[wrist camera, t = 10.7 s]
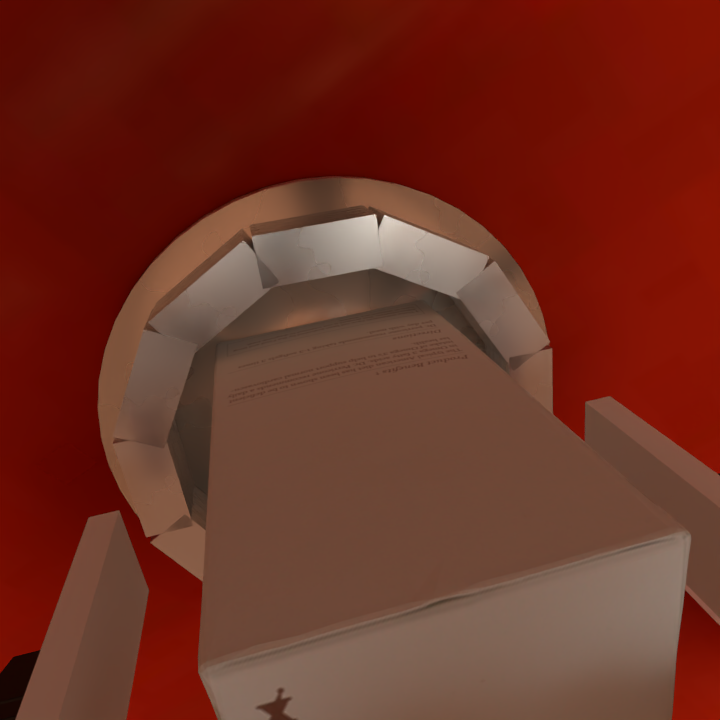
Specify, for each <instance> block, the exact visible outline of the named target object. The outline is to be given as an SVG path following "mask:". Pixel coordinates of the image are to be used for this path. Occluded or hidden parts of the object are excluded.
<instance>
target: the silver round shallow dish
mask: <svg viewBox="0 0 720 720" xmlns="http://www.w3.org/2000/svg"><path fill="white" fill-rule="evenodd" d="M419 300H423V301H425V302H426V303H427V304H428V305H429V306H431V307H432V308H433V309H434V310H435V311H436V312H437V313H439V314H440V315H441V316H442V317H443V318H444V319H445V320H447V321H448V322H449V323H450V324H451V325H453V326H454V327H455V328H456V329H457V330H459V331H460V332H461V333H462V334H463V335H464V336H465V337H467V338H468V339H469V340H470V341H471V342H472V343H473V344H474V345H475V346H477V347H478V348H479V349H480V350H481V351H482V352H483V353H485V354H486V355H487V356H488V357H489V358H490V359H491V360H493V361H494V362H495V363H496V364H497V365H498V366H499V367H500V368H502V369H503V370H504V371H505V372H506V373H507V374H508V375H509V376H511V377H512V378H513V379H514V380H515V381H516V382H517V383H518V384H520V385H521V386H522V387H523V388H524V389H525V390H527V391H528V392H529V393H530V394H531V395H532V396H533V397H534V398H535V399H536V400H538V401H539V402H540V403H541V404H542V405H543V406H544V407H545V408H546V409H548V410H549V411H550V412H551V413H552V414H553V384H552V348H551V347H550V346H549V343H550V341H549V339H548V336H547V331H546V327H545V322H544V318H543V315H542V312H541V309H540V307H539V304H538V301H537V299H536V296H535V294H534V291H533V289H532V288H531V286H530V284H529V282H528V280H527V279H526V277H525V275H524V273H523V271H522V270H521V268H520V267H519V265H518V264H517V263H516V261H515V260H514V259H513V258H512V256H511V255H510V254H509V252H508V251H507V250H506V249H505V247H504V246H503V245H502V244H501V243H500V242H499V241H498V240H497V239H496V238H495V237H494V236H493V235H491V234H490V233H489V232H488V231H487V230H486V229H485V228H484V227H483V226H482V225H480V224H479V223H478V222H476V221H475V220H473V219H472V218H470V217H469V216H468V215H466V214H465V213H463V212H462V211H461V210H459V209H457V208H455V207H453V206H451V205H449V204H447V203H445V202H443V201H442V200H440V199H438V198H436V197H434V196H432V195H429V194H426V193H423V192H420V191H418V190H415V189H412V188H409V187H406V186H403V185H400V184H397V183H393V182H387V181H382V180H376V179H371V178H366V177H349V176H323V177H313V178H303V179H296V180H291V181H287V182H283V183H279V184H275V185H271V186H266V187H263V188H261V189H258V190H256V191H253V192H250V193H248V194H245V195H243V196H240V197H238V198H235V199H233V200H231V201H229V202H227V203H226V204H224V205H222V206H220V207H218V208H217V209H215V210H213V211H211V212H209V213H208V214H206V215H204V216H203V217H201V218H200V219H199V220H197V221H196V222H195V223H193V224H192V225H191V226H189V227H188V228H187V229H186V230H184V231H183V232H182V233H180V234H179V235H178V236H176V238H175V239H174V240H173V241H172V242H171V243H170V244H169V245H168V246H167V247H166V248H165V249H164V250H163V251H162V252H161V253H160V254H159V255H158V256H157V257H156V258H155V259H154V260H153V261H152V262H151V264H150V265H149V266H148V268H147V269H146V271H145V272H144V273H143V275H142V276H141V277H140V279H139V280H138V281H137V283H136V284H135V285H134V287H133V289H132V290H131V292H130V294H129V296H128V298H127V300H126V301H125V303H124V305H123V307H122V309H121V311H120V313H119V314H118V316H117V318H116V320H115V323H114V325H113V328H112V331H111V334H110V337H109V339H108V342H107V345H106V348H105V351H104V356H103V361H102V367H101V372H100V377H99V391H98V415H99V424H100V432H101V439H102V443H103V446H104V450H105V453H106V457H107V460H108V464H109V467H110V469H111V471H112V473H113V475H114V478H115V480H116V482H117V484H118V486H119V489H120V491H121V492H122V494H123V495H124V497H125V498H126V500H127V501H128V503H129V504H130V506H131V508H132V509H133V511H134V512H135V514H136V515H137V516H138V517H139V519H140V522H141V525H142V527H143V530H144V533H145V536H146V537H150V536H151V541H150V543H151V544H153V545H154V546H155V547H157V548H158V549H159V550H161V551H162V552H163V553H165V554H166V555H167V556H169V557H170V558H172V559H173V560H174V561H176V562H177V563H178V564H180V565H181V566H182V567H184V568H185V569H186V570H188V571H189V572H190V573H192V574H193V575H194V576H196V577H197V578H198V579H200V580H201V581H203V570H204V553H205V534H206V516H207V499H208V480H209V462H210V443H211V426H212V409H213V387H214V369H215V351H216V345H217V344H218V343H220V342H226V341H231V340H236V339H240V338H245V337H249V336H254V335H259V334H263V333H268V332H272V331H277V330H282V329H286V328H291V327H296V326H300V325H305V324H310V323H314V322H319V321H324V320H328V319H333V318H337V317H342V316H347V315H351V314H356V313H361V312H366V311H370V310H375V309H380V308H384V307H389V306H395V305H400V304H405V303H410V302H415V301H419Z"/></svg>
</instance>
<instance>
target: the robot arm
mask: <svg viewBox="0 0 720 720" xmlns="http://www.w3.org/2000/svg"><path fill="white" fill-rule="evenodd" d="M585 443H586V444H587V445H589V446H590V447H591V448H592V449H593V450H594V451H595V452H596V453H598V454H599V455H600V456H601V457H602V458H603V459H604V460H605V461H607V462H608V463H609V464H610V465H611V466H612V467H613V468H615V469H616V470H617V471H618V472H619V473H620V474H621V475H623V476H624V477H625V478H626V479H627V480H628V481H629V482H631V483H632V484H633V485H634V486H635V487H636V488H638V489H639V490H640V491H641V492H642V493H643V494H645V495H646V496H647V497H648V498H649V499H651V500H652V501H653V502H654V503H655V504H657V505H658V506H659V507H660V508H662V509H663V510H664V511H665V512H666V513H668V514H669V515H670V516H671V517H673V518H674V519H675V520H676V521H678V522H679V523H680V524H681V525H682V526H683V527H685V528H686V529H687V530H688V531H689V533H690V534H691V545H690V551H689V558H688V567H687V576H686V585H687V586H688V587H689V588H690V589H691V590H692V591H693V592H694V593H695V594H696V595H697V596H698V597H699V598H700V599H701V600H702V601H703V602H704V603H705V604H706V605H707V606H708V607H709V608H710V609H711V610H712V611H713V612H714V613H715V614H716V615H717V616H718V617H719V618H720V473H719V474H717V473H715V472H714V471H713V470H711V469H710V468H709V467H707V466H706V465H704V464H703V463H702V462H700V461H699V460H697V459H696V458H695V457H693V456H692V455H691V454H689V453H688V452H686V451H685V450H684V449H682V448H681V447H679V446H678V445H677V444H675V443H674V442H673V441H671V440H670V439H668V438H667V437H666V436H664V435H663V434H661V433H660V432H659V431H657V430H656V429H654V428H653V427H652V426H650V425H649V424H648V423H646V422H645V421H643V420H642V419H641V418H639V417H638V416H636V415H635V414H634V413H632V412H631V411H630V410H628V409H627V408H625V407H624V406H623V405H621V404H620V403H618V402H617V401H616V400H614V399H613V398H612V397H610V396H609V397H604V398H600V399H596V400H591V401H587V402H585ZM148 593H149V589H148V586H147V584H146V581H145V578H144V576H143V573H142V570H141V568H140V565H139V562H138V560H137V557H136V554H135V552H134V549H133V546H132V543H131V541H130V538H129V535H128V533H127V530H126V527H125V525H124V522H123V519H122V517H121V514H120V511H119V510H118V511H114V512H110V513H105V514H101V515H97V516H92V517H89V518H88V521H87V523H86V526H85V529H84V532H83V534H82V537H81V540H80V543H79V545H78V548H77V551H76V554H75V556H74V559H73V562H72V565H71V567H70V570H69V573H68V576H67V579H66V581H65V584H64V587H63V590H62V592H61V595H60V598H59V601H58V603H57V606H56V609H55V612H54V614H53V617H52V620H51V623H50V625H49V628H48V631H47V634H46V636H45V639H44V642H43V645H42V648H41V650H39V651H35V652H31V653H27V654H23V655H19V656H16V657H13V658H12V660H11V661H10V662H9V663H8V665H7V666H6V667H5V668H4V670H3V671H2V672H1V673H0V720H126V718H127V712H128V706H129V701H130V695H131V689H132V684H133V678H134V672H135V667H136V661H137V655H138V650H139V644H140V638H141V633H142V627H143V621H144V616H145V610H146V604H147V599H148Z"/></svg>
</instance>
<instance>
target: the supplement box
mask: <svg viewBox="0 0 720 720" xmlns="http://www.w3.org/2000/svg"><path fill="white" fill-rule="evenodd" d="M690 545H691V534H690V533H689V531H688V530H687V529H686V528H685V527H683V526H682V525H681V524H680V523H679V522H678V521H676V520H675V519H674V518H673V517H671V516H670V515H669V514H668V513H666V512H665V511H664V510H663V509H662V508H660V507H659V506H658V505H657V504H655V503H654V502H653V501H652V500H651V499H649V498H648V497H647V496H646V495H645V494H643V493H642V492H641V491H640V490H639V489H638V488H636V487H635V486H634V485H633V484H632V483H631V482H629V481H628V480H627V479H626V478H625V477H624V476H623V475H621V474H620V473H619V472H618V471H617V470H616V469H615V468H613V467H612V466H611V465H610V464H609V463H608V462H607V461H605V460H604V459H603V458H602V457H601V456H600V455H599V454H598V453H596V452H595V451H594V450H593V449H592V448H591V447H590V446H589V445H587V444H586V443H585V442H584V441H583V440H582V439H581V438H579V437H578V436H577V435H576V434H575V433H574V432H573V431H571V430H570V429H569V428H568V427H567V426H566V425H565V424H564V423H562V422H561V421H560V420H559V419H558V418H557V417H556V416H554V415H553V414H552V413H551V412H550V411H549V410H548V409H546V408H545V407H544V406H543V405H542V404H541V403H540V402H539V401H538V400H536V399H535V398H534V397H533V396H532V395H531V394H530V393H529V392H528V391H527V390H525V389H524V388H523V387H522V386H521V385H520V384H518V383H517V382H516V381H515V380H514V379H513V378H512V377H511V376H509V375H508V374H507V373H506V372H505V371H504V370H503V369H502V368H500V367H499V366H498V365H497V364H496V363H495V362H494V361H493V360H491V359H490V358H489V357H488V356H487V355H486V354H485V353H483V352H482V351H481V350H480V349H479V348H478V347H477V346H475V345H474V344H473V343H472V342H471V341H470V340H469V339H468V338H467V337H465V336H464V335H463V334H462V333H461V332H460V331H459V330H457V329H456V328H455V327H454V326H453V325H451V324H450V323H449V322H448V321H447V320H445V319H444V318H443V317H442V316H441V315H440V314H439V313H437V312H436V311H435V310H434V309H433V308H432V307H431V306H429V305H428V304H427V303H426V302H425V301H423V300H419V301H415V302H410V303H405V304H400V305H395V306H389V307H384V308H380V309H375V310H370V311H366V312H361V313H356V314H351V315H347V316H342V317H337V318H333V319H328V320H324V321H319V322H314V323H310V324H305V325H300V326H296V327H291V328H286V329H282V330H277V331H272V332H268V333H263V334H259V335H254V336H249V337H245V338H240V339H236V340H231V341H226V342H220V343H218V344H217V345H216V351H215V369H214V387H213V409H212V426H211V443H210V462H209V480H208V499H207V516H206V534H205V553H204V570H203V589H202V607H201V623H200V637H199V651H198V673H199V675H200V677H201V680H202V682H203V684H204V686H205V689H206V691H207V693H208V696H209V698H210V701H211V703H212V706H213V708H214V710H215V713H216V715H217V718H218V720H672V710H673V698H674V683H675V669H676V656H677V647H678V639H679V631H680V624H681V617H682V609H683V601H684V593H685V585H686V576H687V567H688V558H689V551H690Z"/></svg>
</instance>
